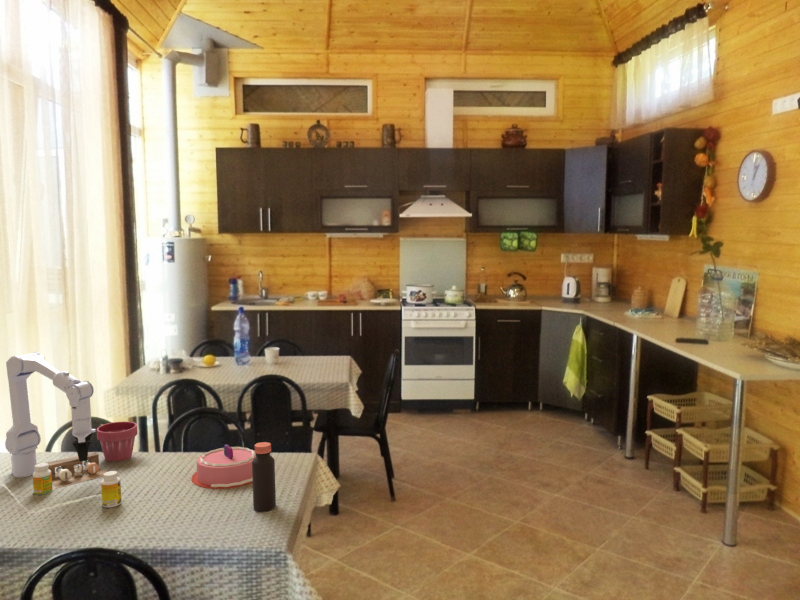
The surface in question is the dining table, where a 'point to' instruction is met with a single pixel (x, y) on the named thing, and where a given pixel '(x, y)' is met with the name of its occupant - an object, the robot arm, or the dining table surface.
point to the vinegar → (263, 478)
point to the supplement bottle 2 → (111, 489)
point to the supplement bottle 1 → (42, 479)
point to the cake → (224, 468)
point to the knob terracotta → (91, 467)
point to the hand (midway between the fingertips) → (83, 457)
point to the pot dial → (78, 471)
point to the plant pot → (117, 440)
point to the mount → (69, 464)
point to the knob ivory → (64, 474)
